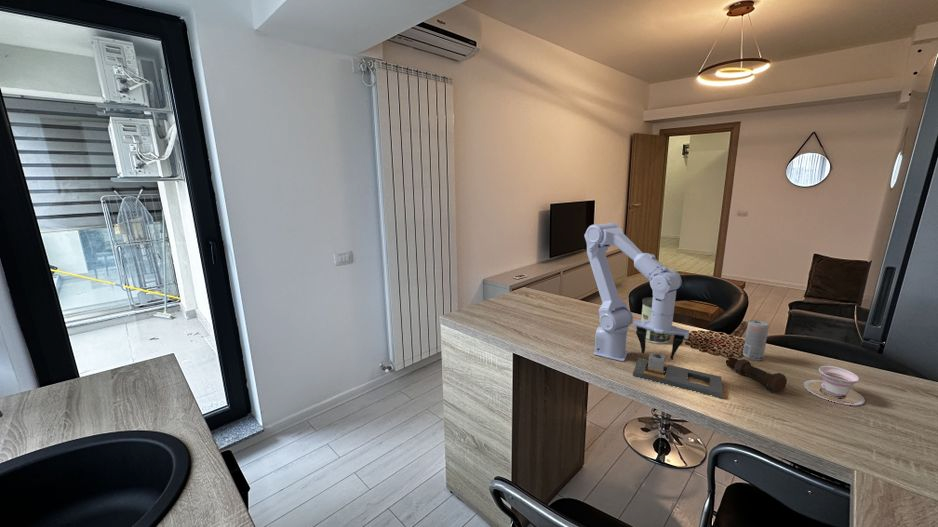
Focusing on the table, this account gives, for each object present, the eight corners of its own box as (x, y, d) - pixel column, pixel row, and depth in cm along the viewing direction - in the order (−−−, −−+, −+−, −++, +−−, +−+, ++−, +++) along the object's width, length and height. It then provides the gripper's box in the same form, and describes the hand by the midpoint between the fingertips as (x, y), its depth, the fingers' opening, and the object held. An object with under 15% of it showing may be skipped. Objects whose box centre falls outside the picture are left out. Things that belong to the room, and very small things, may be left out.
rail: (632, 376, 111) (633, 371, 110) (638, 362, 119) (638, 357, 119) (721, 398, 99) (722, 392, 99) (720, 381, 107) (721, 376, 107)
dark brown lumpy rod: (729, 371, 116) (780, 396, 102) (719, 366, 115) (769, 391, 101) (738, 355, 116) (790, 378, 102) (728, 349, 114) (780, 372, 100)
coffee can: (674, 338, 136) (679, 301, 133) (663, 346, 129) (667, 308, 126) (646, 329, 143) (649, 295, 140) (633, 337, 137) (637, 301, 134)
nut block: (646, 375, 111) (648, 357, 110) (648, 369, 114) (650, 351, 113) (661, 379, 109) (664, 360, 108) (663, 373, 112) (665, 354, 111)
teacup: (871, 412, 93) (877, 390, 92) (808, 397, 99) (812, 377, 98) (856, 389, 103) (861, 369, 101) (799, 377, 109) (803, 358, 108)
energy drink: (760, 355, 122) (766, 321, 120) (765, 362, 118) (771, 327, 115) (740, 352, 125) (746, 318, 122) (744, 359, 120) (750, 324, 117)
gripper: (632, 311, 108) (628, 354, 111) (690, 321, 100) (684, 367, 104) (636, 304, 114) (632, 345, 117) (691, 313, 106) (685, 356, 109)
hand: (657, 355), depth 111 cm, fingers open, 7 cm apart
